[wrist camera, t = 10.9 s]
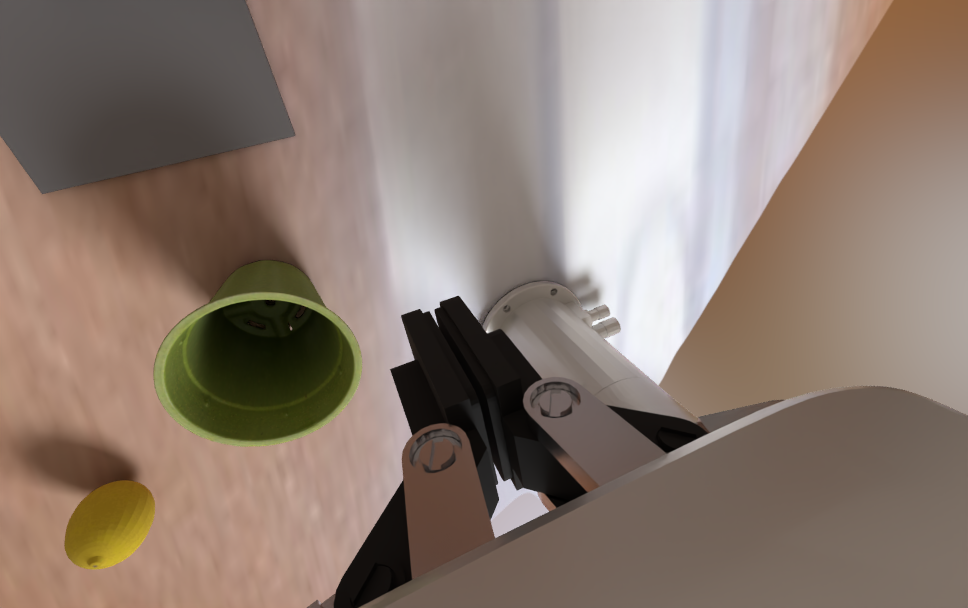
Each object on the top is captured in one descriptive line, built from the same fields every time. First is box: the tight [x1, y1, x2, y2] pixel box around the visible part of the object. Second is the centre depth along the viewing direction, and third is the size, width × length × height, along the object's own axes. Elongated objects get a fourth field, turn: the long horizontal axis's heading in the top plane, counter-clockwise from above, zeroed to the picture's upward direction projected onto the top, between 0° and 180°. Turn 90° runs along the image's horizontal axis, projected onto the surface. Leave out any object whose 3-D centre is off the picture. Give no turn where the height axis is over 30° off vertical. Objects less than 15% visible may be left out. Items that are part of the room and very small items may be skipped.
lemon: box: [65, 480, 155, 569], centre depth 36 cm, size 6×6×8 cm
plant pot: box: [154, 260, 362, 447], centre depth 33 cm, size 12×12×11 cm
